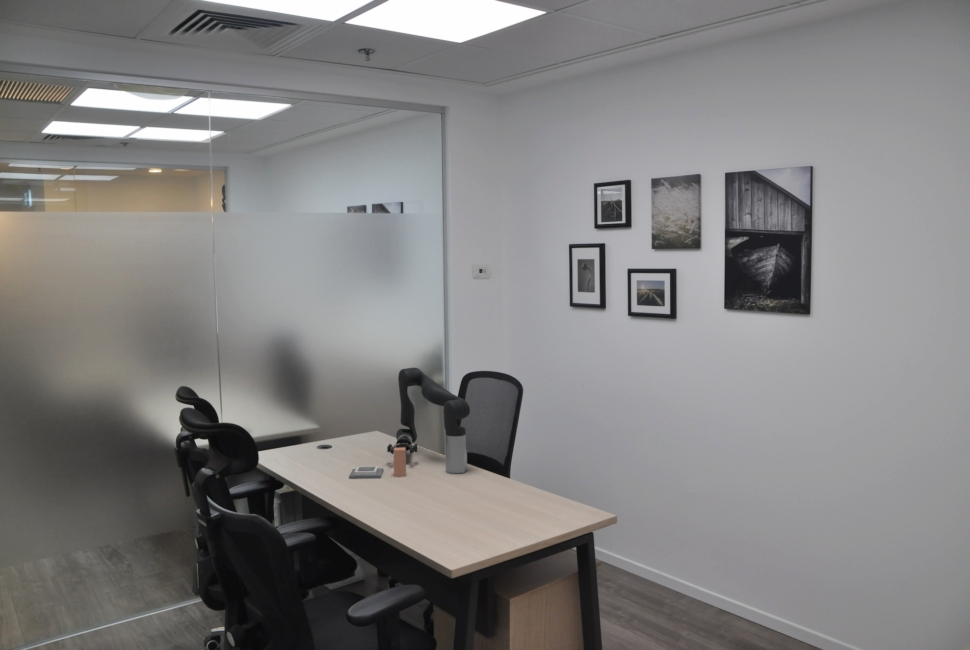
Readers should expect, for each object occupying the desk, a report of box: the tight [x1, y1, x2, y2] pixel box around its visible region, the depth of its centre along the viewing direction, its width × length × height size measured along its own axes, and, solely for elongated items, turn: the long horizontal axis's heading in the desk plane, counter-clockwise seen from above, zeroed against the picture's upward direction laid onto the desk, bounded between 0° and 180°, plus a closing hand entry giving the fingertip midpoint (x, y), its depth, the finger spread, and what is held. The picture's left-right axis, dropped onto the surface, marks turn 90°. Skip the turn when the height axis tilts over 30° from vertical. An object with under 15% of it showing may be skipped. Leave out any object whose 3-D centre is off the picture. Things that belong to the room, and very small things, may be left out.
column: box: [393, 448, 407, 478], centre depth 329 cm, size 5×5×12 cm
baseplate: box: [348, 465, 384, 480], centre depth 330 cm, size 14×12×3 cm
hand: (401, 451), depth 341 cm, fingers open, 8 cm apart
